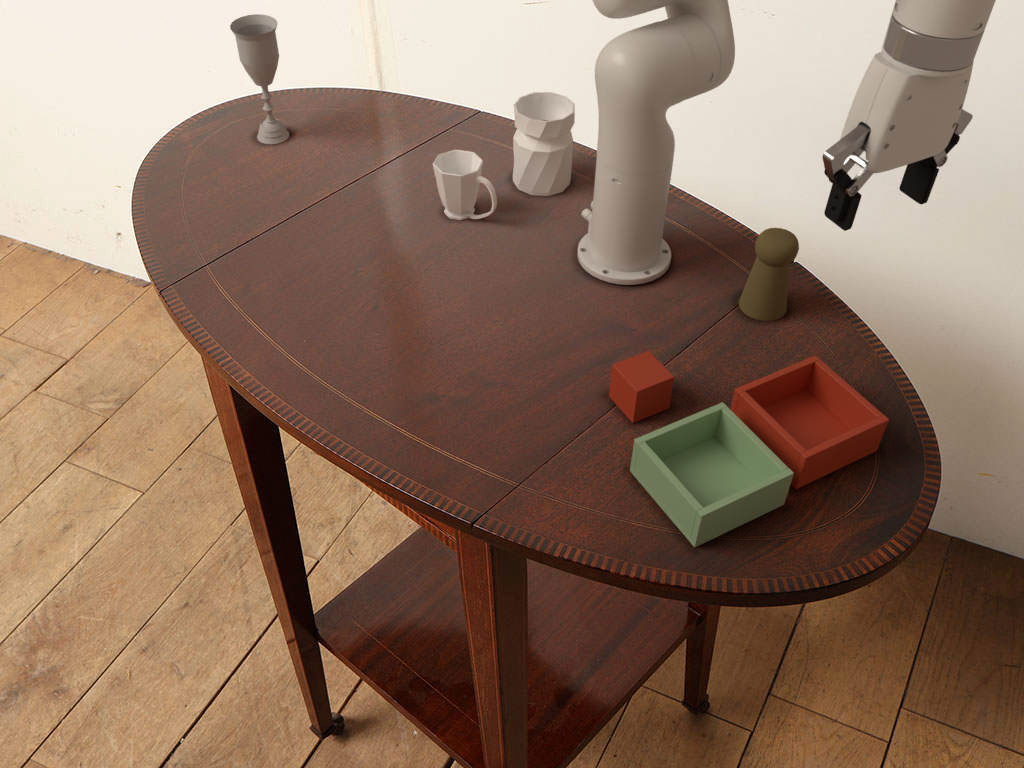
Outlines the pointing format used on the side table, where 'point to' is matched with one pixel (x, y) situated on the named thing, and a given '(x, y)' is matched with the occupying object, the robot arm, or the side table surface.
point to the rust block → (641, 386)
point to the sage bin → (710, 473)
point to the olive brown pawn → (769, 275)
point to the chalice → (261, 66)
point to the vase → (543, 143)
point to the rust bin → (810, 419)
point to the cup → (461, 183)
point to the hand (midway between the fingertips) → (875, 209)
